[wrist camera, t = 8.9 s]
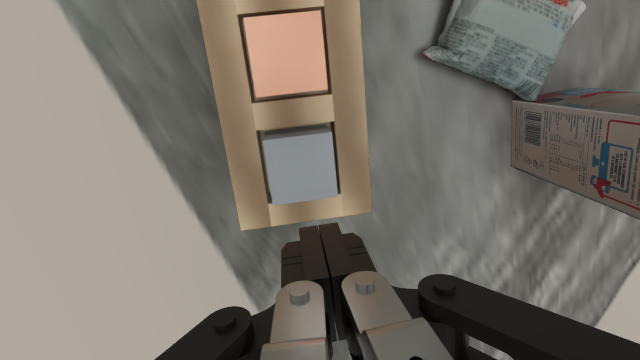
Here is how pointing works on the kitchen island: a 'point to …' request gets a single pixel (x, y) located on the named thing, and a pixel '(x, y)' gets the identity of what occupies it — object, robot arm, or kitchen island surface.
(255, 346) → the robot arm
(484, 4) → the packaged food
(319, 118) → the light brown rectangular frame
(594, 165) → the juice carton
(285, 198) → the slate key
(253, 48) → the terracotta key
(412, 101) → the kitchen island surface
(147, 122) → the kitchen island surface
